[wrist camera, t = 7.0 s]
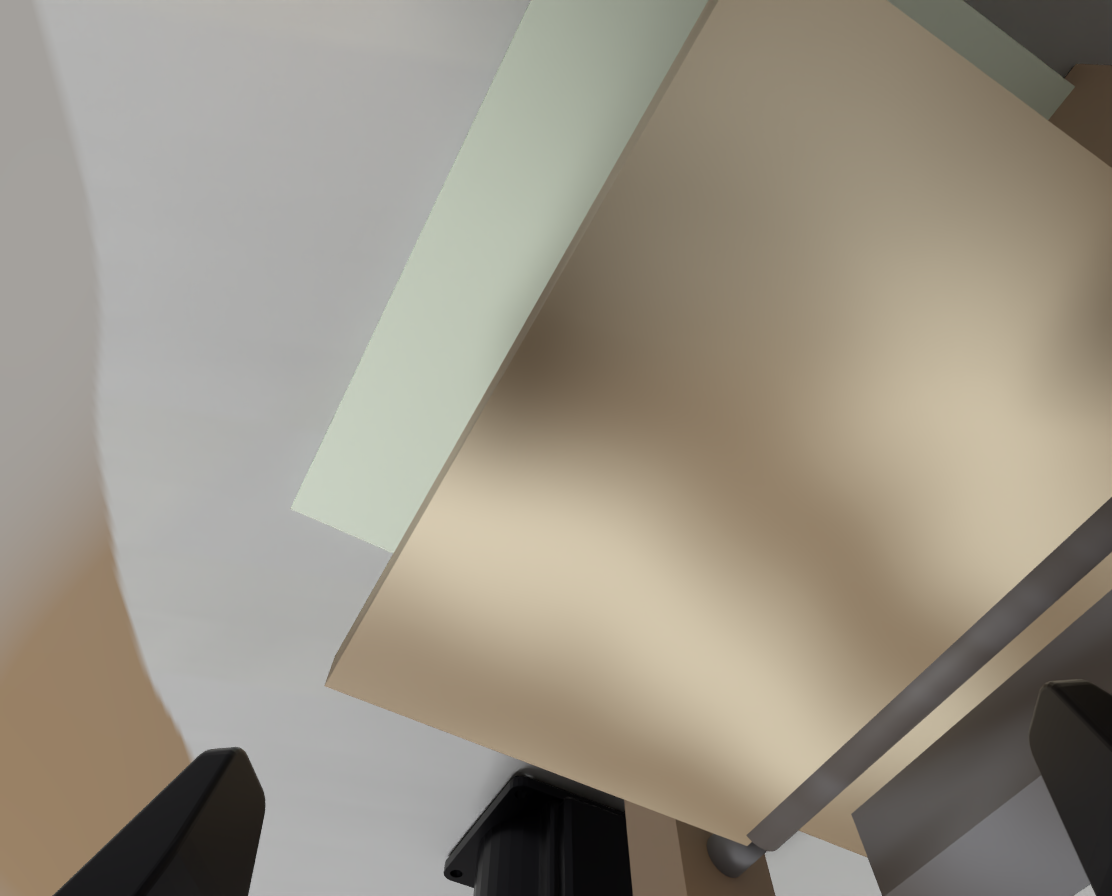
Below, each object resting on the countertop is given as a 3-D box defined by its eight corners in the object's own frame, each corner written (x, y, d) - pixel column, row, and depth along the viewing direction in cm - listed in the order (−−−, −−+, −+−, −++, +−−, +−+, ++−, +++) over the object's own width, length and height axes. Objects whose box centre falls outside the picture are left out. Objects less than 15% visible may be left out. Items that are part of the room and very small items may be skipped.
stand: (704, 689, 26) (773, 990, 18) (290, 510, 23) (138, 783, 14) (1190, 152, 18) (1740, 251, 10) (656, -264, 14) (797, -680, 6)
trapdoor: (884, 863, 19) (934, 988, 16) (337, 649, 15) (295, 765, 13) (1433, 426, 13) (1638, 517, 11) (749, -77, 10) (816, -116, 7)
